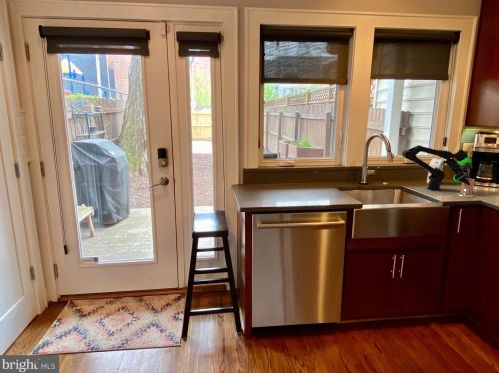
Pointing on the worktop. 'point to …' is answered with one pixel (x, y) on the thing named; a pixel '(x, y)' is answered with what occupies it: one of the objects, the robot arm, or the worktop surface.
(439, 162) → the milk carton
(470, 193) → the terracotta pot
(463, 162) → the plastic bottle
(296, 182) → the worktop surface
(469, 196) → the silver pot lid
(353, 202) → the worktop surface
